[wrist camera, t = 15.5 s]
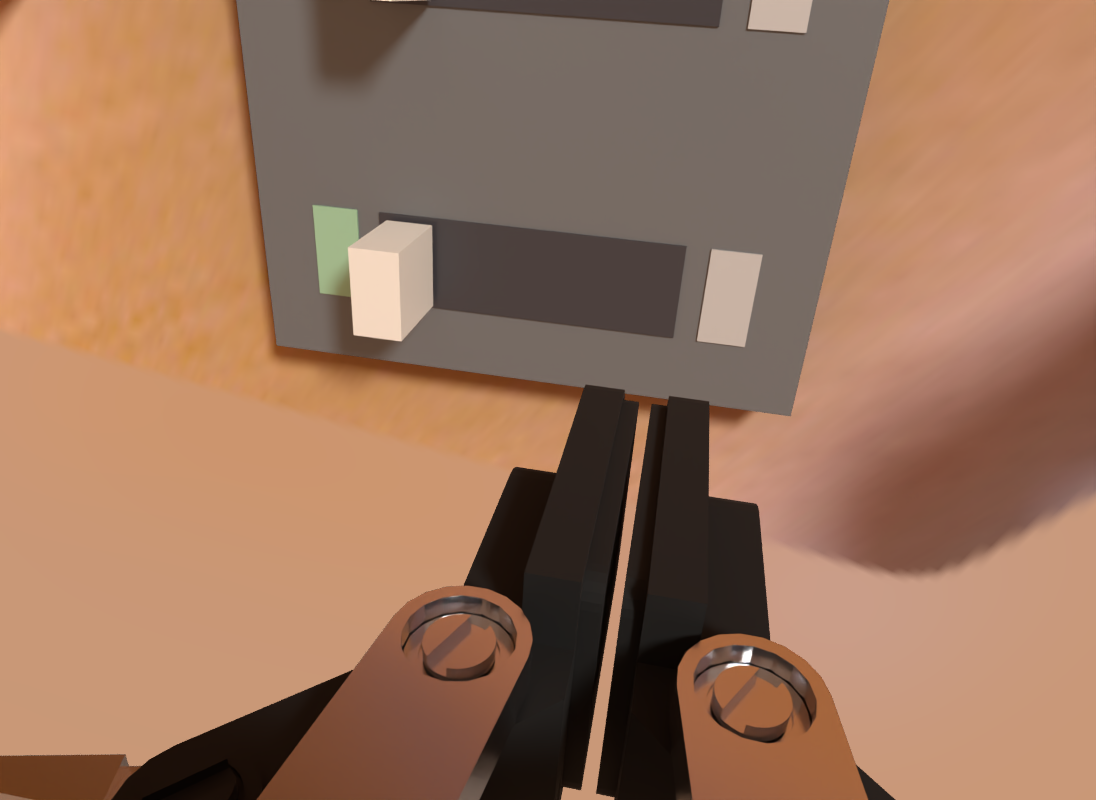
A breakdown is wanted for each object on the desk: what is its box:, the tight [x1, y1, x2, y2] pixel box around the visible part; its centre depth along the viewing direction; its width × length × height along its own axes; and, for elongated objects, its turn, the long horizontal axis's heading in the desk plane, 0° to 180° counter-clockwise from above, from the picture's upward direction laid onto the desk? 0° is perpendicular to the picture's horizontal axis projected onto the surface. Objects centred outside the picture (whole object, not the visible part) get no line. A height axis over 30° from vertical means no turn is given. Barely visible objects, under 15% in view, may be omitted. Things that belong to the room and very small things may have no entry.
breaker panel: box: [236, 0, 889, 416], centre depth 32 cm, size 24×22×3 cm
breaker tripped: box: [348, 220, 433, 341], centre depth 32 cm, size 2×4×4 cm, turn 176°
